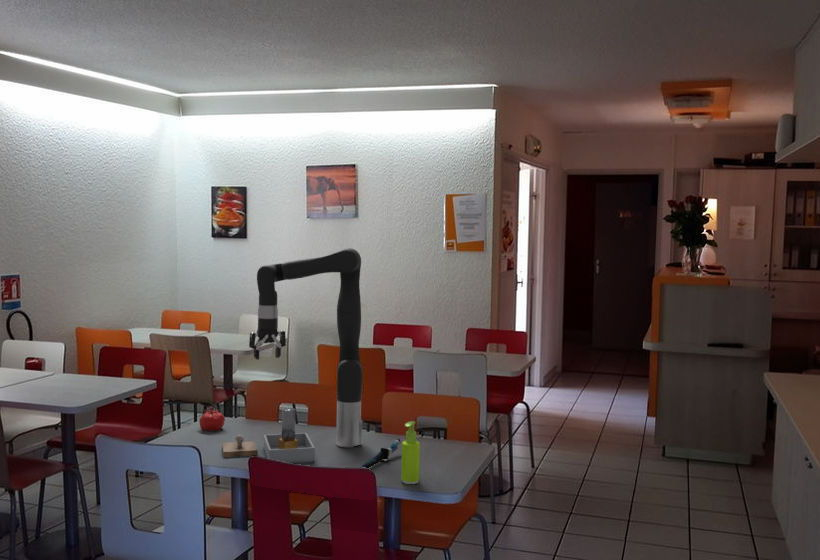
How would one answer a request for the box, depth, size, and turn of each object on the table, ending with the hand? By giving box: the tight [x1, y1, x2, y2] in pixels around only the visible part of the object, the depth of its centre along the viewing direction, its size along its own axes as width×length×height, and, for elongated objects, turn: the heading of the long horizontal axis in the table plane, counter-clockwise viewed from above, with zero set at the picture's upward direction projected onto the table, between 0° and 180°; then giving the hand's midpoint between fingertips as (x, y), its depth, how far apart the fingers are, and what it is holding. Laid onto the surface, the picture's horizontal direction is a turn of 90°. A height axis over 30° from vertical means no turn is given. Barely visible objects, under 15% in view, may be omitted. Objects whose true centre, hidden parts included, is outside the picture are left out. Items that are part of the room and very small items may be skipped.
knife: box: [361, 438, 402, 468], centre depth 273 cm, size 31×3×4 cm, turn 150°
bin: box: [263, 432, 316, 464], centre depth 281 cm, size 16×21×5 cm
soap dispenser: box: [400, 420, 421, 482], centre depth 253 cm, size 6×7×20 cm
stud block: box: [221, 434, 259, 458], centre depth 283 cm, size 12×12×6 cm
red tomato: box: [199, 406, 226, 432], centre depth 314 cm, size 10×10×9 cm
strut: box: [279, 407, 298, 449], centre depth 281 cm, size 5×5×16 cm
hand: (267, 358), depth 298 cm, fingers open, 8 cm apart
